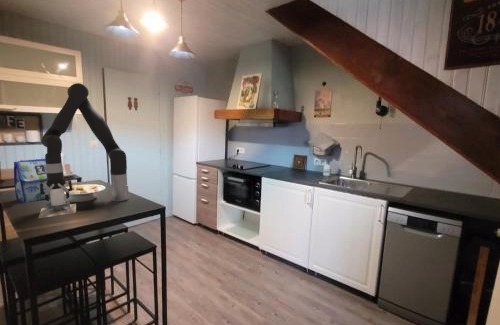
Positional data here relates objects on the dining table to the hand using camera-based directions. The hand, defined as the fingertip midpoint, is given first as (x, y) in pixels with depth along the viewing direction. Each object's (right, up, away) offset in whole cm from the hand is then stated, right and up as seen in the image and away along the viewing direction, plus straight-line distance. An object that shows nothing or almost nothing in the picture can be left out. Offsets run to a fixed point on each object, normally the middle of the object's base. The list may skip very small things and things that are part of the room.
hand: (57, 199), depth 143 cm
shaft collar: (+2, -6, -2) cm, 6 cm away
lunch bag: (-29, -3, +24) cm, 38 cm away
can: (0, -5, +1) cm, 5 cm away
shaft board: (+2, -7, -2) cm, 8 cm away
